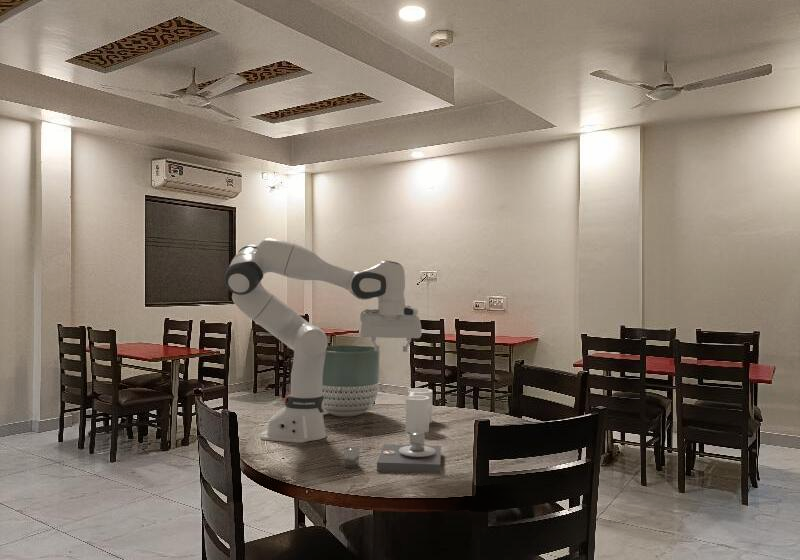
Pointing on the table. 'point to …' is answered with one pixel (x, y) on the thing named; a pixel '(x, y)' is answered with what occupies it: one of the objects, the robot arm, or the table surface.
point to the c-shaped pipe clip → (418, 410)
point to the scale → (409, 459)
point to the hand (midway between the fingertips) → (391, 351)
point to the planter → (350, 379)
